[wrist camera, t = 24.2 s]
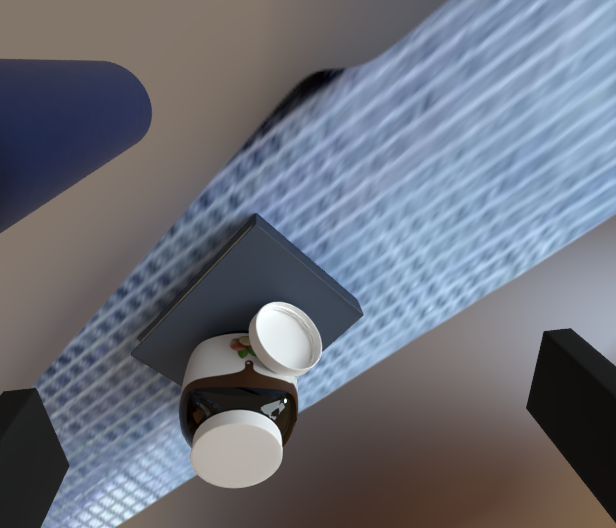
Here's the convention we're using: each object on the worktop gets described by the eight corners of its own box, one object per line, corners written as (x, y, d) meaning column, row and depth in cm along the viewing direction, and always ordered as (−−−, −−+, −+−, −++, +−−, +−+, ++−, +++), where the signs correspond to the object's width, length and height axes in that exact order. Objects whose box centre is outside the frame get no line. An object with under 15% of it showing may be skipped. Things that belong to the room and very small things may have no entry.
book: (256, 212, 39) (256, 223, 36) (357, 299, 44) (364, 315, 41) (138, 336, 43) (130, 355, 40) (243, 402, 48) (242, 422, 45)
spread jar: (189, 387, 43) (167, 492, 32) (191, 289, 38) (166, 375, 28) (306, 391, 45) (321, 492, 34) (322, 298, 40) (345, 382, 29)
